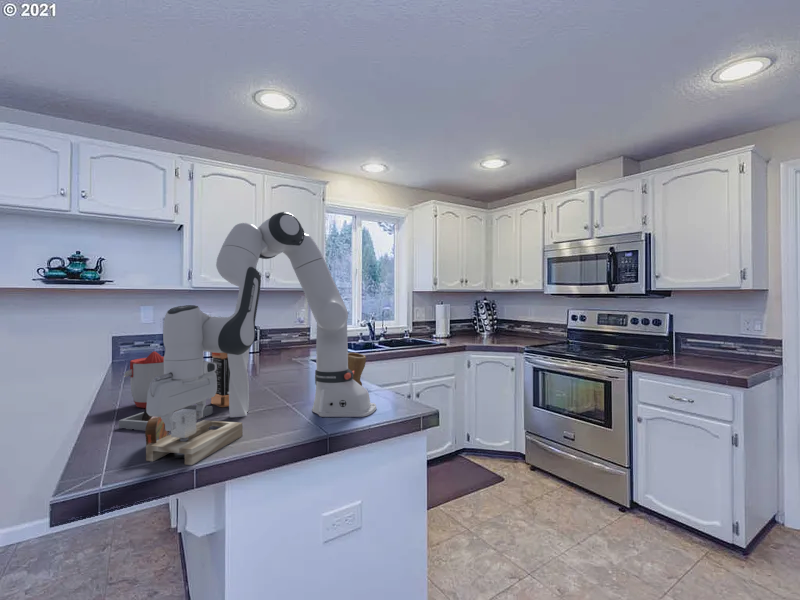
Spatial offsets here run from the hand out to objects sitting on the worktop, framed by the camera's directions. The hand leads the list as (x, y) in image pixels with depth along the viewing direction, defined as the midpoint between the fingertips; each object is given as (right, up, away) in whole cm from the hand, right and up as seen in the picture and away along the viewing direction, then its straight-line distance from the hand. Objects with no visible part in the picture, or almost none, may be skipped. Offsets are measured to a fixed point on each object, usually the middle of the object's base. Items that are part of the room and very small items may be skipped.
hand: (185, 423), depth 100 cm
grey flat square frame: (-21, -8, +28) cm, 36 cm away
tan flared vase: (+33, -7, +74) cm, 82 cm away
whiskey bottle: (-10, -8, +49) cm, 51 cm away
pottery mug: (-24, -8, +28) cm, 37 cm away
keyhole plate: (+1, -8, +5) cm, 9 cm away
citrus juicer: (-38, -8, +47) cm, 61 cm away
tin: (-10, -8, +5) cm, 13 cm away
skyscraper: (0, -8, +34) cm, 35 cm away
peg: (0, -8, 0) cm, 8 cm away
